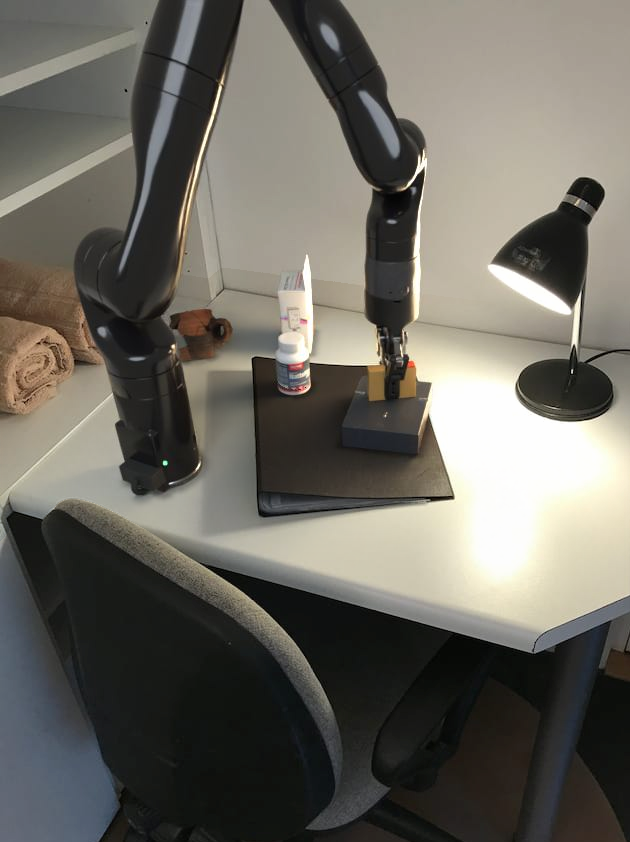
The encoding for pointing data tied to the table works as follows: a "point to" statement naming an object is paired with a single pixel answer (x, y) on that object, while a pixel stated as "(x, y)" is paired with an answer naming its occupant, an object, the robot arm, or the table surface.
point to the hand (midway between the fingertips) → (390, 393)
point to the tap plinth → (387, 420)
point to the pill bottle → (292, 363)
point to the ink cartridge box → (296, 303)
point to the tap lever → (377, 382)
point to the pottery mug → (200, 333)
